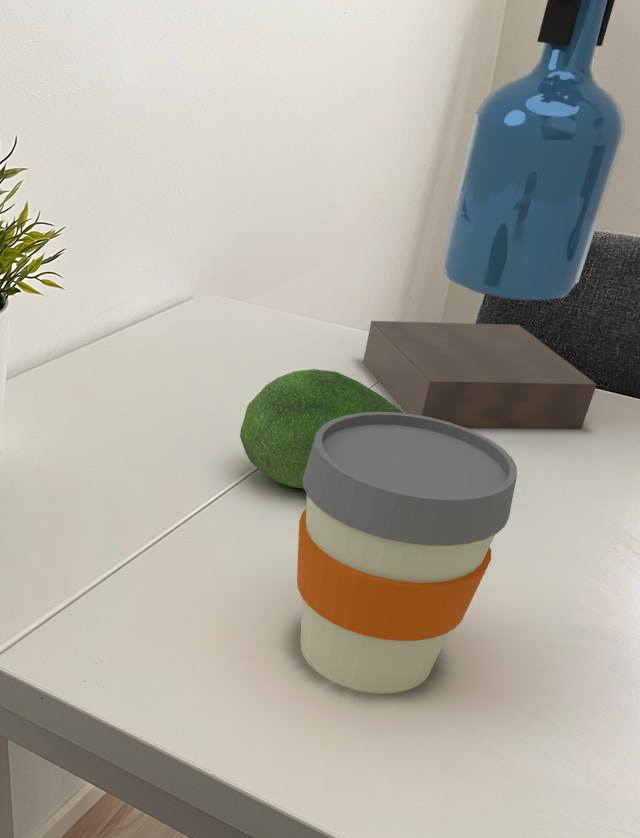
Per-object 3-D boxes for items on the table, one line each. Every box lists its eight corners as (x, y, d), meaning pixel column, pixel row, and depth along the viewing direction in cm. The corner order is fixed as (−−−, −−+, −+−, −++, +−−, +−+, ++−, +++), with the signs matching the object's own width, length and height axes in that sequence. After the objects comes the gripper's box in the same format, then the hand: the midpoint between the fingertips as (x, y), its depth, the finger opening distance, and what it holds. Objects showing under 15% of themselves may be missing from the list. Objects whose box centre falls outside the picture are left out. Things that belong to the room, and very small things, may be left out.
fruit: (401, 472, 92) (427, 367, 86) (406, 522, 84) (434, 411, 78) (240, 449, 93) (254, 345, 88) (229, 497, 85) (244, 385, 80)
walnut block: (506, 366, 118) (518, 324, 115) (581, 430, 104) (597, 384, 101) (362, 363, 115) (371, 320, 112) (418, 429, 101) (430, 381, 98)
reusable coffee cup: (242, 619, 70) (272, 420, 62) (388, 590, 75) (436, 402, 66) (336, 730, 61) (387, 515, 53) (496, 690, 66) (568, 486, 57)
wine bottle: (576, 314, 92) (703, -85, 75) (432, 290, 95) (522, -100, 78) (572, 276, 103) (682, -80, 86) (443, 257, 106) (524, -93, 88)
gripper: (678, -296, 81) (585, 39, 94) (559, -344, 71) (474, 37, 84) (771, -304, 76) (659, 49, 90) (657, -355, 66) (551, 49, 80)
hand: (569, 43), depth 87 cm, fingers closed on wine bottle, 5 cm apart
